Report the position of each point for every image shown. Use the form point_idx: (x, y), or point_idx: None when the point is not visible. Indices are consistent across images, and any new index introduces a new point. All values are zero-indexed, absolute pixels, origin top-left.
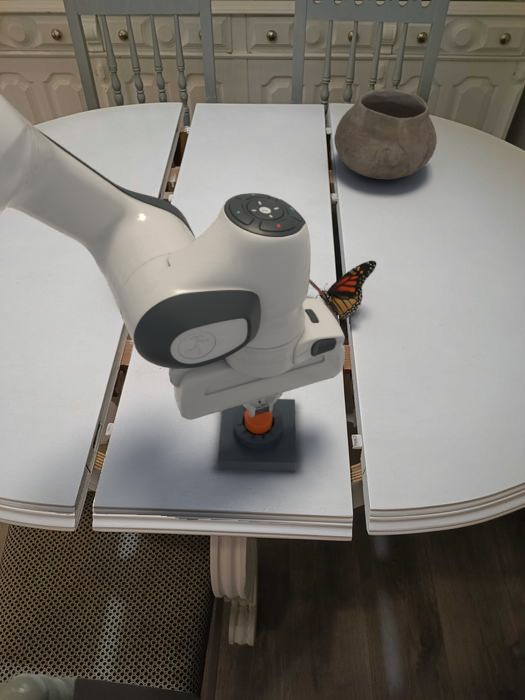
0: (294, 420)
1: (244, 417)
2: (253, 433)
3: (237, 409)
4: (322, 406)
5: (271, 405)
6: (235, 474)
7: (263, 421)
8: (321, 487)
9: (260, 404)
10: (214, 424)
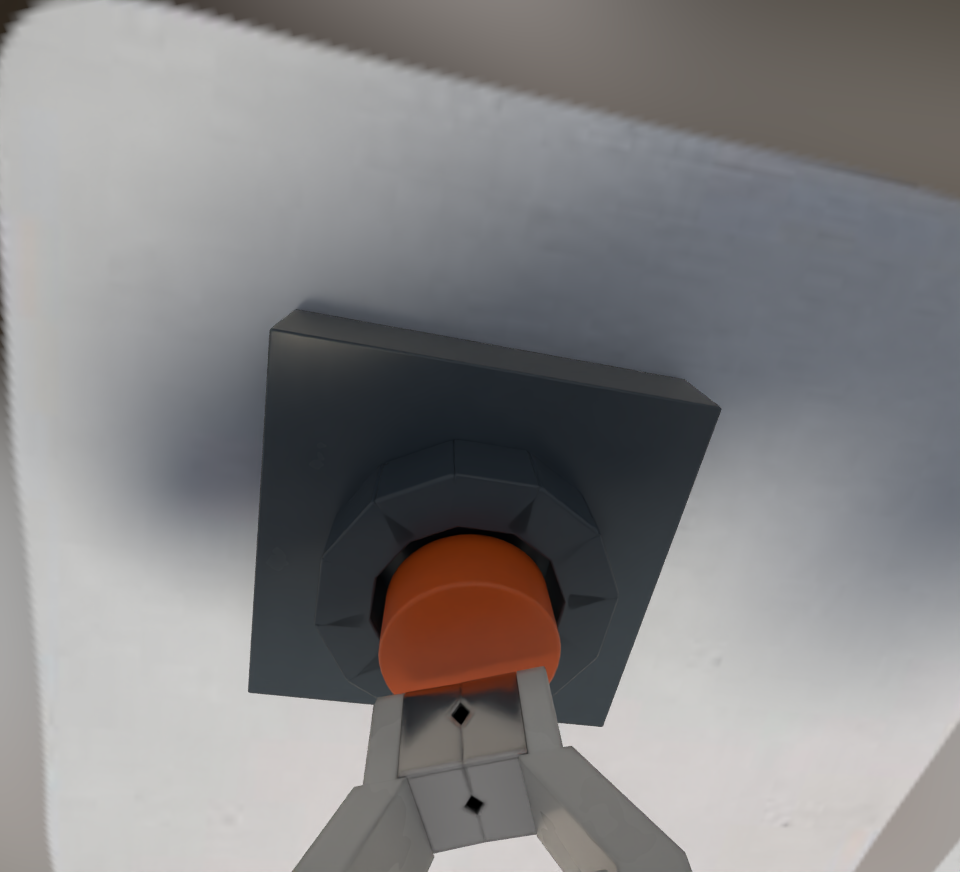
0: (259, 587)
1: None
2: None
3: None
4: (127, 632)
5: (378, 770)
6: (610, 340)
7: (446, 616)
8: (149, 185)
9: (472, 786)
10: None
